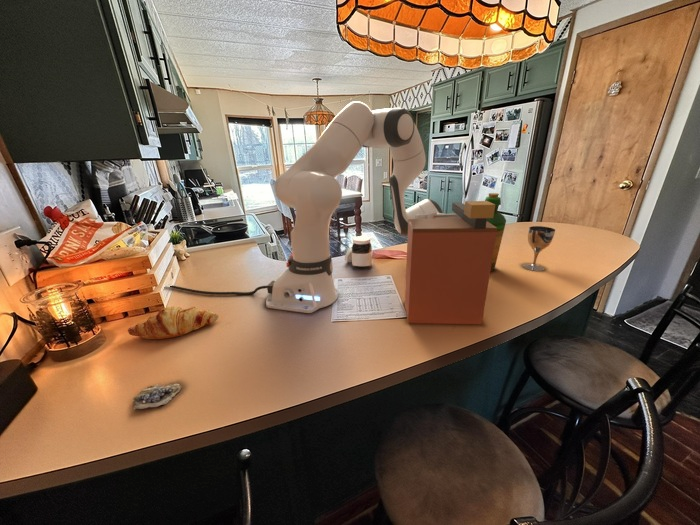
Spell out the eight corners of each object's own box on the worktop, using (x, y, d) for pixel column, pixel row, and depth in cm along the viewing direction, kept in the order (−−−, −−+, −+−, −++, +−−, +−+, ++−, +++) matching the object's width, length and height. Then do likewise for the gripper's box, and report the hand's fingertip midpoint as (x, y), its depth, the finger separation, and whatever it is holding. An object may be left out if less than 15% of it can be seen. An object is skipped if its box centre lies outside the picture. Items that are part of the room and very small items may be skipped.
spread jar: (369, 271, 107) (369, 242, 103) (341, 269, 110) (340, 241, 105) (373, 260, 118) (373, 233, 114) (347, 259, 120) (346, 233, 116)
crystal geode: (134, 394, 55) (131, 387, 54) (180, 376, 59) (177, 369, 58) (133, 419, 50) (129, 411, 49) (183, 397, 54) (180, 389, 53)
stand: (407, 322, 74) (412, 228, 65) (404, 303, 84) (408, 219, 74) (481, 324, 73) (497, 227, 63) (469, 304, 82) (482, 218, 72)
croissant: (222, 325, 82) (218, 299, 83) (217, 328, 73) (213, 298, 73) (137, 343, 75) (134, 313, 76) (120, 348, 66) (116, 315, 66)
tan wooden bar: (468, 228, 63) (471, 204, 61) (447, 210, 83) (449, 192, 81) (491, 228, 63) (495, 204, 61) (464, 210, 82) (466, 191, 80)
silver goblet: (544, 273, 100) (554, 233, 95) (519, 268, 105) (527, 230, 99) (546, 266, 106) (556, 227, 101) (522, 261, 111) (530, 225, 105)
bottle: (480, 275, 100) (492, 197, 90) (461, 264, 110) (470, 193, 100) (504, 271, 103) (518, 194, 93) (484, 261, 112) (495, 190, 102)
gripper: (411, 218, 104) (416, 205, 91) (467, 217, 102) (481, 204, 89) (411, 234, 104) (417, 224, 90) (468, 233, 102) (482, 223, 88)
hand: (449, 214), depth 89 cm, fingers open, 8 cm apart
